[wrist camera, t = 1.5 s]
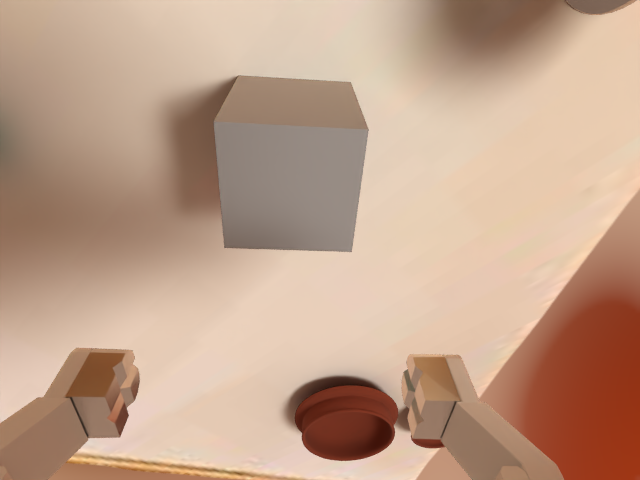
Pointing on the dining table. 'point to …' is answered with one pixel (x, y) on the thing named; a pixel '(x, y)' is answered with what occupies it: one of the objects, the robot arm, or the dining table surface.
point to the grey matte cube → (290, 164)
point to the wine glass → (598, 6)
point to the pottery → (350, 423)
